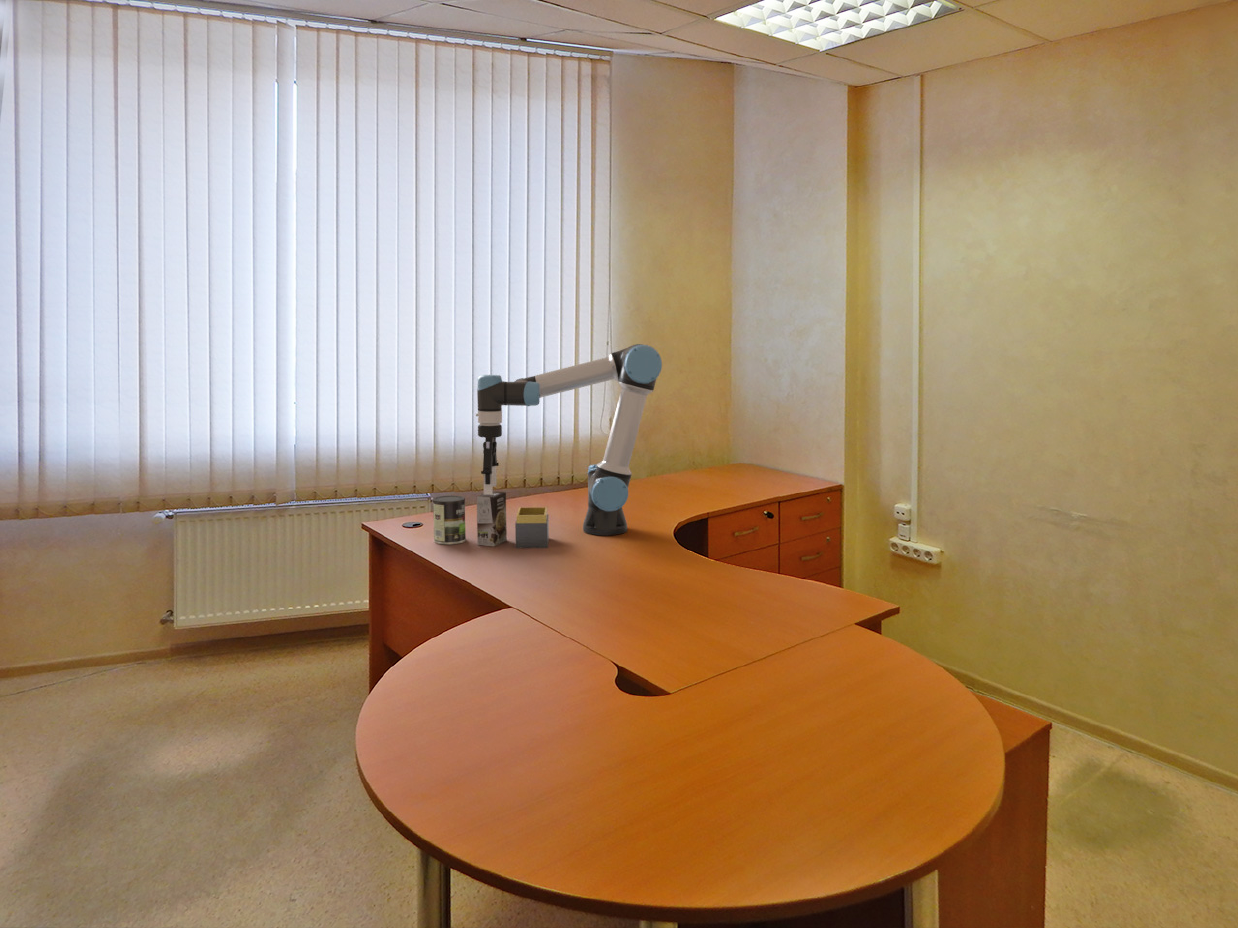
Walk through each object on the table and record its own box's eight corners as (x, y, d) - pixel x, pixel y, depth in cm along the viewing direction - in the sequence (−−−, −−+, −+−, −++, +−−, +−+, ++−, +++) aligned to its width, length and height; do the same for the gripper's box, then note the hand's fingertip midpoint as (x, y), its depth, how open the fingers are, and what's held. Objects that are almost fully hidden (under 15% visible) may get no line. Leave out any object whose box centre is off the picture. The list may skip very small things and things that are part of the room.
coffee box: (495, 546, 268) (494, 497, 265) (476, 545, 270) (475, 495, 267) (507, 540, 276) (506, 491, 274) (489, 538, 278) (488, 490, 276)
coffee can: (470, 537, 279) (469, 495, 277) (458, 545, 269) (457, 502, 267) (441, 536, 281) (440, 494, 279) (428, 543, 271) (427, 500, 269)
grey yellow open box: (548, 538, 279) (548, 506, 277) (547, 547, 267) (547, 515, 265) (518, 538, 278) (517, 507, 277) (515, 548, 266) (515, 515, 265)
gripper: (482, 419, 279) (482, 482, 282) (473, 428, 254) (473, 497, 258) (504, 419, 279) (505, 483, 283) (498, 429, 255) (498, 497, 258)
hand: (490, 490), depth 270 cm, fingers open, 13 cm apart
